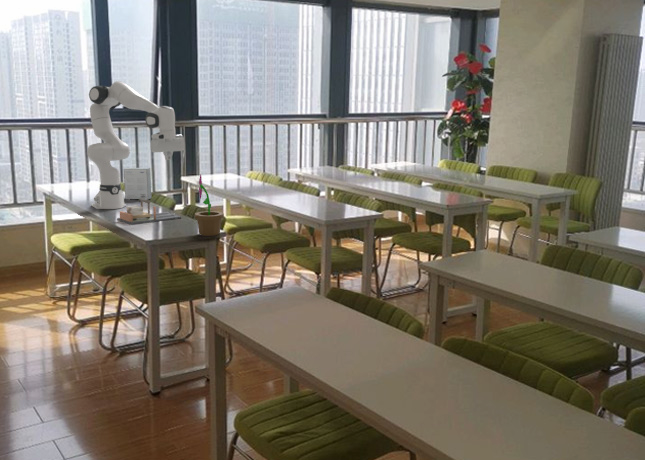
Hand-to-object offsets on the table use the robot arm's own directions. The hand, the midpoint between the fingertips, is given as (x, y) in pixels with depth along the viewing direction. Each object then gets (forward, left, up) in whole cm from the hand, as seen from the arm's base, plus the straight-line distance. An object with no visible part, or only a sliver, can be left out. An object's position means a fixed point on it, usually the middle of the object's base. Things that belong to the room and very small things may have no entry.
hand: (168, 159), depth 404 cm
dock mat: (+9, -18, -31) cm, 37 cm away
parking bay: (+9, -25, -30) cm, 40 cm away
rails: (+9, -18, -31) cm, 37 cm away
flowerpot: (+62, -13, -31) cm, 71 cm away
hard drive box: (-58, +10, -31) cm, 67 cm away
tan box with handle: (+9, -25, -30) cm, 40 cm away
